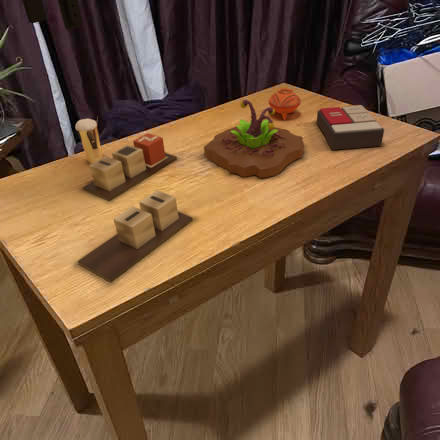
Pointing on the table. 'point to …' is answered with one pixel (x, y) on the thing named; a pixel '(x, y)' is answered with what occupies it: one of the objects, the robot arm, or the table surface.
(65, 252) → the table surface
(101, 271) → the front word
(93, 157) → the beer glass
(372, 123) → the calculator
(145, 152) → the letter block
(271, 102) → the pot
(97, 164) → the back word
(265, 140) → the plant
